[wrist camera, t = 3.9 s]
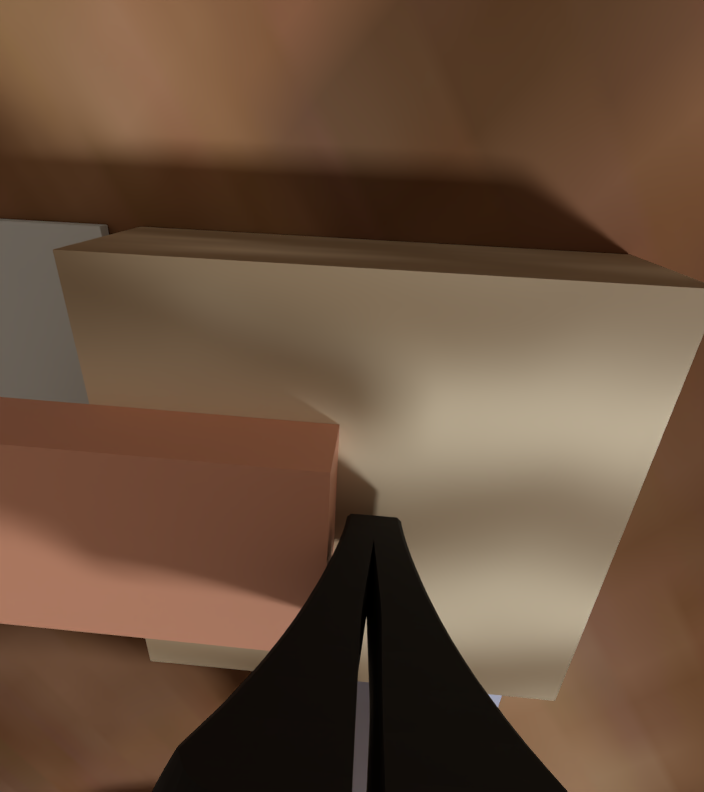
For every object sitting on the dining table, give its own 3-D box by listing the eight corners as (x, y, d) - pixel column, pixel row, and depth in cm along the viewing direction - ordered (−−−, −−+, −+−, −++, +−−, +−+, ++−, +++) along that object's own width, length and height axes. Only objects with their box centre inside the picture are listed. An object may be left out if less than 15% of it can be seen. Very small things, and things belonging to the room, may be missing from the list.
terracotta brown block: (331, 594, 14) (323, 656, 12) (45, 566, 15) (-3, 622, 13) (339, 424, 11) (330, 472, 10) (-13, 396, 12) (-84, 437, 10)
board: (524, 601, 19) (554, 700, 16) (193, 571, 20) (150, 661, 16) (630, 254, 13) (721, 289, 9) (140, 226, 14) (52, 249, 10)
